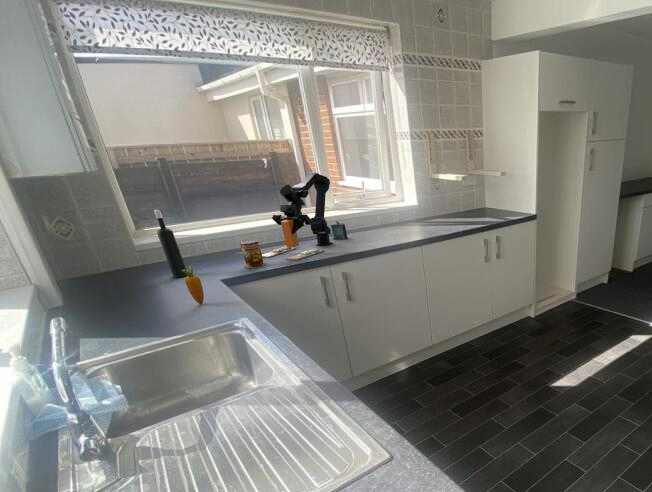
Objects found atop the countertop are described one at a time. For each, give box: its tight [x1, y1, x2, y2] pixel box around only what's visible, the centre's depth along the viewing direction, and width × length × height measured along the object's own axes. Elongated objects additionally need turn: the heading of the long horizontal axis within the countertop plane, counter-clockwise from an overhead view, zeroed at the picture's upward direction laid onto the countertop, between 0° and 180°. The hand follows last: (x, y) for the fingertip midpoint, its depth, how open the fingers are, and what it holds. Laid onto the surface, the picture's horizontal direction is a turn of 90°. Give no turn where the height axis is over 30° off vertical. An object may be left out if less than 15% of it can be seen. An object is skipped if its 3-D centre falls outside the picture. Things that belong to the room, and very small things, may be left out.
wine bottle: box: [153, 209, 188, 279], centre depth 190 cm, size 6×6×30 cm
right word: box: [286, 248, 324, 261], centre depth 225 cm, size 19×7×2 cm, turn 158°
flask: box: [329, 220, 348, 240], centre depth 257 cm, size 9×3×11 cm, turn 84°
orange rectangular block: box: [280, 220, 300, 248], centre depth 214 cm, size 5×4×13 cm
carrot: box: [182, 265, 205, 306], centre depth 158 cm, size 5×5×15 cm
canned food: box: [239, 239, 265, 269], centre depth 207 cm, size 8×8×12 cm
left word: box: [261, 245, 297, 258], centre depth 232 cm, size 19×7×2 cm, turn 158°
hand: (288, 233), depth 213 cm, fingers closed on orange rectangular block, 4 cm apart
